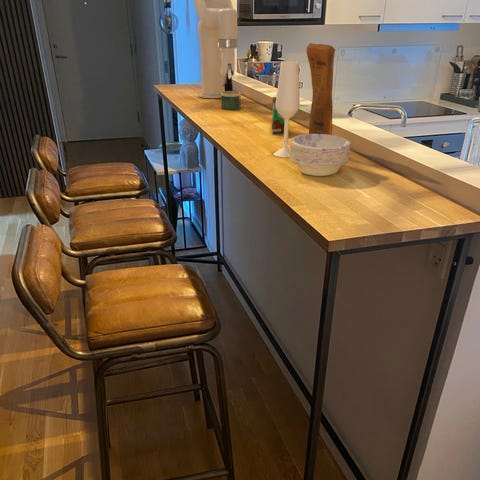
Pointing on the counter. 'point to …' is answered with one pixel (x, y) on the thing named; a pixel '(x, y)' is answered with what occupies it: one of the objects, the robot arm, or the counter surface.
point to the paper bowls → (319, 153)
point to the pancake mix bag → (321, 87)
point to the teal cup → (230, 100)
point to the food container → (277, 120)
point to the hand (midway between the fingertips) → (228, 93)
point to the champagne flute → (287, 98)
